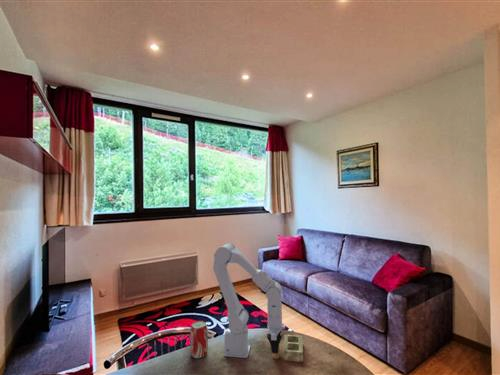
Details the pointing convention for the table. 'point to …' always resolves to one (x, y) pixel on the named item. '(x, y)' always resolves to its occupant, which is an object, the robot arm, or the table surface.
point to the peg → (275, 355)
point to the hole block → (293, 348)
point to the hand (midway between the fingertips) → (275, 348)
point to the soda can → (198, 339)
